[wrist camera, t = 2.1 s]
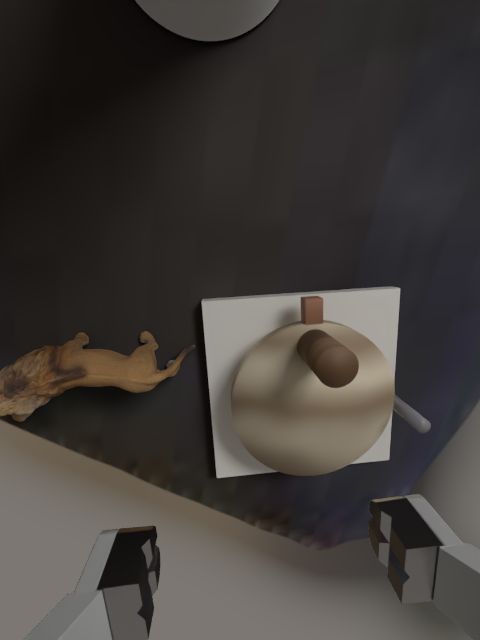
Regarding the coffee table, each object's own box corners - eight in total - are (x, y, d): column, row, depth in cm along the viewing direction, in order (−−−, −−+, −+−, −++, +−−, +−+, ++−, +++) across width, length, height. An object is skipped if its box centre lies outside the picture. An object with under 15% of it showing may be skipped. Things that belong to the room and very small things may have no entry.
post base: (202, 299, 28) (197, 314, 21) (391, 286, 30) (448, 296, 22) (216, 468, 33) (216, 529, 25) (381, 450, 34) (426, 505, 27)
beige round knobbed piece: (223, 302, 25) (225, 318, 19) (391, 290, 26) (446, 302, 20) (235, 472, 29) (240, 532, 23) (381, 456, 30) (425, 510, 24)
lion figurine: (51, 386, 29) (-20, 442, 20) (37, 335, 28) (-44, 371, 19) (199, 367, 30) (191, 414, 21) (191, 316, 29) (180, 344, 20)
